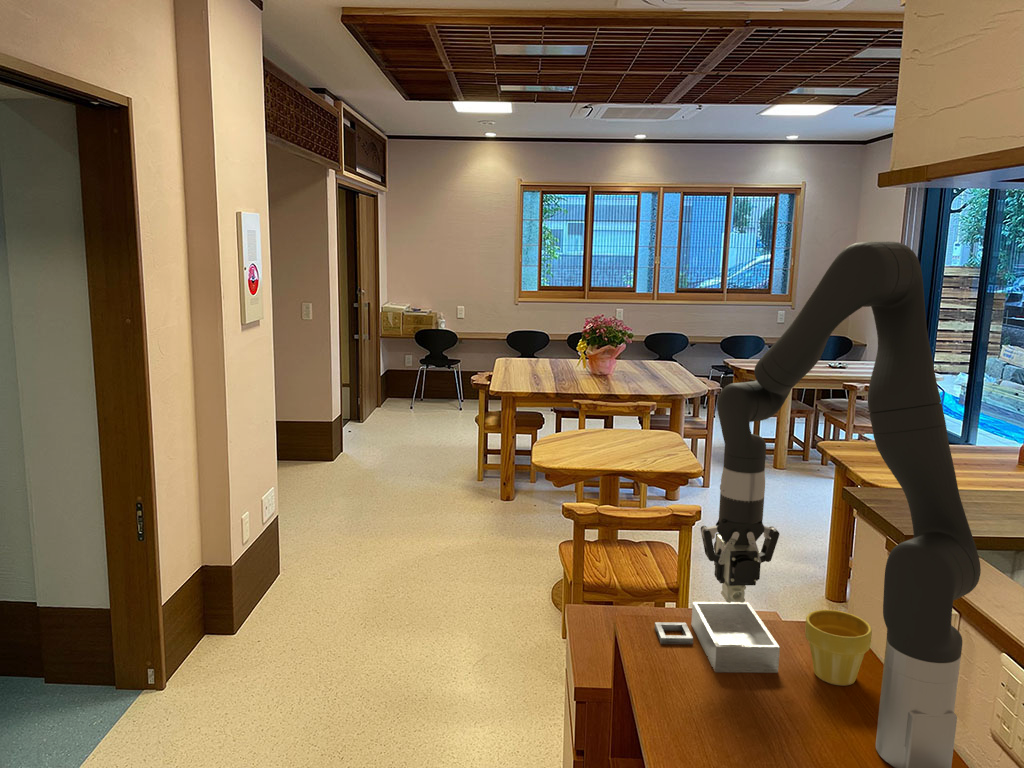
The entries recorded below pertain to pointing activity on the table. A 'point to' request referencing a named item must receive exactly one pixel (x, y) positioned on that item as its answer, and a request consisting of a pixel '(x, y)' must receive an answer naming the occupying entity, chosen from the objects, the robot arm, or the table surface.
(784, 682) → the table surface
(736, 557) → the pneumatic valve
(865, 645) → the plant pot
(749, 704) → the table surface
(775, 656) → the seat cradle
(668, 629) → the gray square frame
